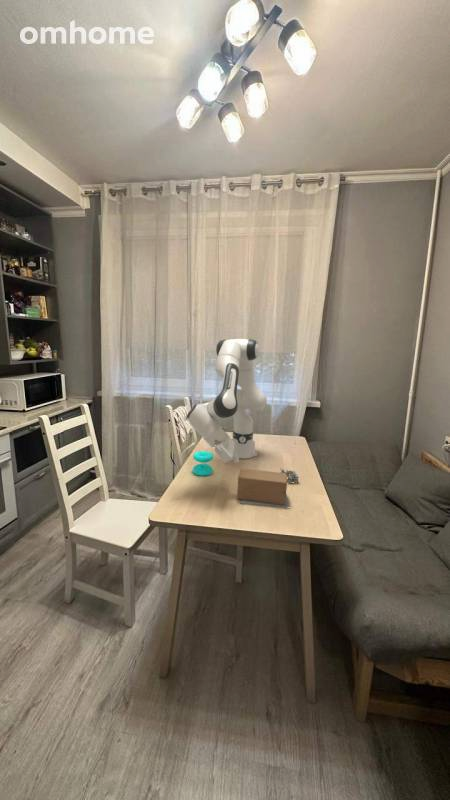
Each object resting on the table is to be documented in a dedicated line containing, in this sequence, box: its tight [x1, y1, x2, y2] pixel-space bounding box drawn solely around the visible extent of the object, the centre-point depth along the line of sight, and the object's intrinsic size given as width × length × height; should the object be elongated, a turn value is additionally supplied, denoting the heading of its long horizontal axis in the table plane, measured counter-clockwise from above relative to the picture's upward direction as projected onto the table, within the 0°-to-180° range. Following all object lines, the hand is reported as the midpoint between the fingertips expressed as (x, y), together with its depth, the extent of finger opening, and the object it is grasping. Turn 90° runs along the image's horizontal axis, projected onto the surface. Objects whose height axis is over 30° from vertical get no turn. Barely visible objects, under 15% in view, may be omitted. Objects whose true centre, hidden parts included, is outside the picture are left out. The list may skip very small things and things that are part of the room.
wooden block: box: [236, 468, 288, 505], centre depth 132 cm, size 10×10×20 cm
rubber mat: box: [240, 493, 291, 508], centre depth 133 cm, size 14×20×1 cm
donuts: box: [192, 450, 214, 477], centre depth 155 cm, size 10×10×10 cm
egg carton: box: [279, 468, 299, 484], centre depth 153 cm, size 11×8×4 cm
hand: (238, 461), depth 132 cm, fingers closed
